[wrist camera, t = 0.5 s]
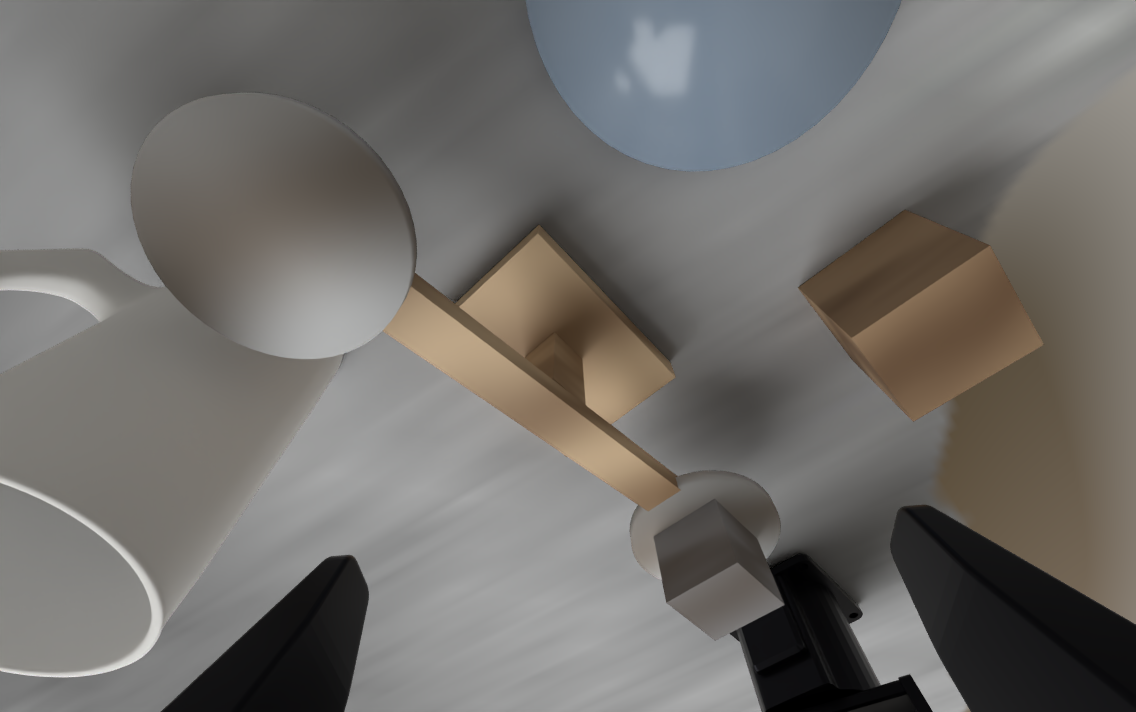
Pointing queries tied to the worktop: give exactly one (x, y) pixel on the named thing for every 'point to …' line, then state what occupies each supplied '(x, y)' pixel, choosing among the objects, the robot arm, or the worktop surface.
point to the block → (922, 311)
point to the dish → (705, 71)
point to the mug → (126, 463)
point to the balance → (434, 320)
